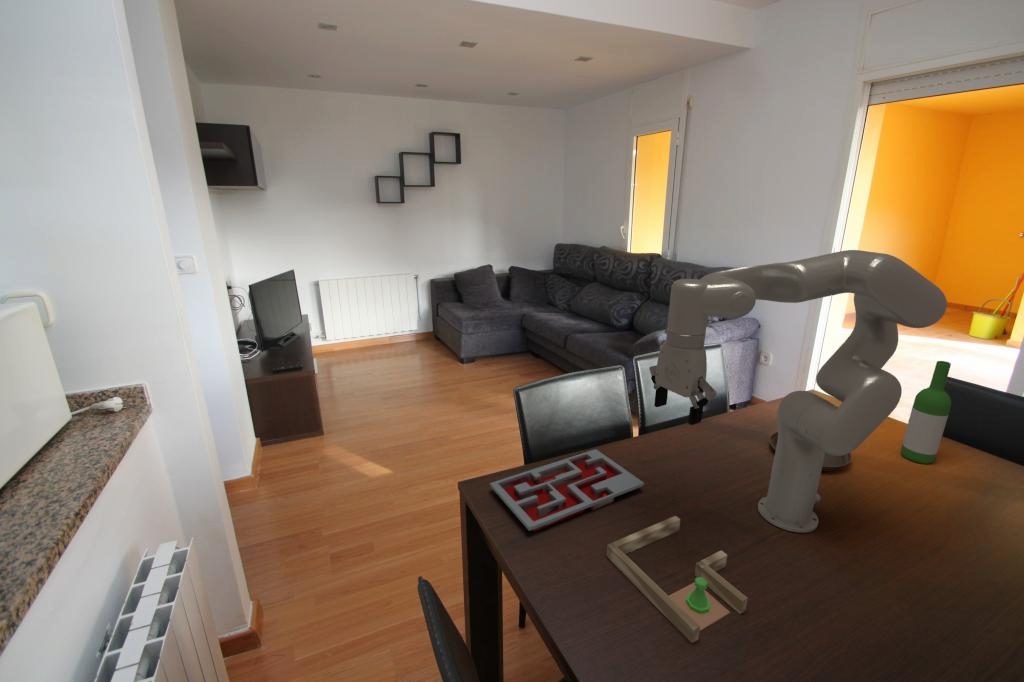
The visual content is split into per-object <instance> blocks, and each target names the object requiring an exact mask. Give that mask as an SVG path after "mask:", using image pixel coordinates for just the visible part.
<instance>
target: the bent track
mask: <svg viewBox="0 0 1024 682" xmlns="http://www.w3.org/2000/svg"><path fill="white" fill-rule="evenodd" d="M680 526H681V518H679V517H678V516H676V515H674V516H672V517H669V518H666V519H664V520H662V521H659V522H658V523H655V524H653V525H651V526H648V527H645V528H643V529H641V530H638V531H636V532H634V533H632V534H629V535H627V536H625V537H622V538H620V539H618V540H615V541H613V542H610V543H608V544H607V545H606V557H607V559H609V560H610V561H611V563H613V564H614V566H615V567H616V568H617V569H618V570H619V571H620V572H621V571H622V572H621V573H622V574H623V575H624V576H625V577H626V578H628V580H629V581H630V582H631V583H632V584H633V585H634V586H635V587H636V588H637V589H638V590H639V591H640V592H641V593H642V594H643V595H644V596H645V597H646V598H647V599H648V600H649V601H650V602H651V603H652V604H653V605H654V606H655V607H656V608H657V610H658V611H659V612H661V614H662V615H663V616H664V617H665V618H666V619H667V620H668V621H669V622H670V623H671V624H672V625H673V626H674V628H676V629H677V630H678V631H679V632H680V633H681V634H682V635H683V636H684V637H685V638H686V639H687V640H688V641H689V642H690V643H691V644H693V643H695V642H697V641H699V636H700V633H701V631H703V630H705V629H706V628H708V627H710V626H711V625H713V624H714V623H716V622H718V621H719V620H721V619H723V618H725V617H726V616H728V615H729V614H731V612H730V610H728V609H727V608H726V607H725V605H722V603H721V602H719V601H718V600H717V599H716V598H715V597H714V596H713V595H712V594H710V593H709V592H708V591H707V590H706V589H704V592H705V595H706V597H707V599H708V600H709V601H710V608H709V612H707V613H702V614H700V613H697V612H695V611H693V610H691V609H690V608H689V606H688V605H687V603H686V599H687V596H688V593H692V592H693V591H694V590H695V588H696V586H695V585H694V584H695V581H694V582H692V583H690V584H688V585H686V586H685V587H682V588H681V589H679V590H677V591H675V592H673V593H671V594H670V595H668V594H667V593H666V592H665V591H664V590H663V589H662V588H661V587H660V586H659V585H658V584H657V583H656V582H655V581H654V580H653V579H651V577H650V576H648V575H647V574H646V573H645V572H644V571H643V570H642V569H641V568H640V567H639V566H638V565H637V564H636V563H635V562H634V561H633V560H632V559H631V558H630V557H629V556H628V554H630V553H632V552H634V551H636V549H637V550H638V549H641V548H643V547H646V546H647V545H650V544H652V543H654V542H657V541H658V540H661V539H663V538H667V537H668V536H671V535H672V534H674V533H676V532H679V531H680ZM629 552H630V553H629ZM627 553H628V554H627ZM727 559H728V554H727V552H726V553H725V551H723V550H719V551H717V552H715V553H713V554H711V555H709V556H707V557H705V558H702V559H701V560H700V561H697V562H696V563H695V567H694V568H695V569H694V576H695V578H699V577H702V578H703V579H705V580H706V581H707V582H708V583H707V588H708V589H710V590H711V591H713V593H715V594H716V595H717V596H718V597H719V598H720V599H722V600H723V601H724V602H725V603H727V604H728V605H729V606H730V607H731V608H732V609H733V610H734V611H736V612H737V613H738V614H739V615H741V614H743V613H745V612H746V609H747V605H748V600H749V599H748V597H747V596H746V595H745V594H743V592H741V591H740V590H738V589H737V588H736V587H735V586H733V584H731V583H730V582H729V581H727V580H726V579H725V578H724V577H722V575H720V574H719V573H717V572H719V571H720V570H722V569H724V568H726V566H727Z"/></svg>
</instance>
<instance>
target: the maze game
mask: <svg viewBox="0 0 1024 682" xmlns="http://www.w3.org/2000/svg"><path fill="white" fill-rule="evenodd" d="M489 486H490V488H491V489H492V490H493V491H494V493H496V495H498V497H499V498H500V499H501V501H503V503H504V504H505V505H506V506H507V507H508V509H509V510H510V511H511V512H512V513H513V514H514V515H515V517H516V518H517V519H518V520H519V521H520V522H521V523H522V524H523V526H524V527H525V528H526V529H527V531H528V532H529V531H532V532H533V533H535V532H537V531H540V530H543V529H545V528H547V527H549V525H550V526H551V525H554V523H555V524H557V523H559V521H560V522H562V521H565V520H567V519H570V518H572V517H574V515H575V516H577V515H580V514H582V513H584V511H586V510H585V509H590V510H591V511H593V510H594V511H596V510H598V509H597V508H599V509H600V507H601V508H603V506H604V507H606V506H608V505H607V504H609V505H610V503H611V504H613V503H614V499H615V498H616V497H619V496H621V495H624V494H626V493H628V492H632V491H634V490H637V489H638V488H639V489H640V488H641V487H643V486H645V482H644V481H642V480H641V479H639V478H638V477H636V476H635V475H634V474H632V473H631V472H629V471H628V470H626V469H625V468H624V467H622V466H621V465H619V464H618V463H616V462H615V461H614V460H612V459H611V458H609V457H608V456H606V455H605V454H603V453H602V452H601V451H599V450H598V449H596V448H595V449H594V448H593V449H591V450H588V451H585V452H583V453H580V454H577V455H576V454H575V455H573V456H571V457H567V458H564V459H561V460H558V461H554V462H552V463H548V464H545V465H541V466H538V467H536V468H532V469H530V470H527V471H523V472H521V473H517V474H513V475H511V476H508V477H504V478H501V479H499V480H496V481H492V482H490V483H489ZM612 502H613V503H612ZM605 505H606V506H605ZM595 509H596V510H595ZM579 513H580V514H579ZM576 514H577V515H576ZM571 516H572V517H571ZM569 517H570V518H569ZM566 518H567V519H566ZM564 519H565V520H564Z"/></svg>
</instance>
